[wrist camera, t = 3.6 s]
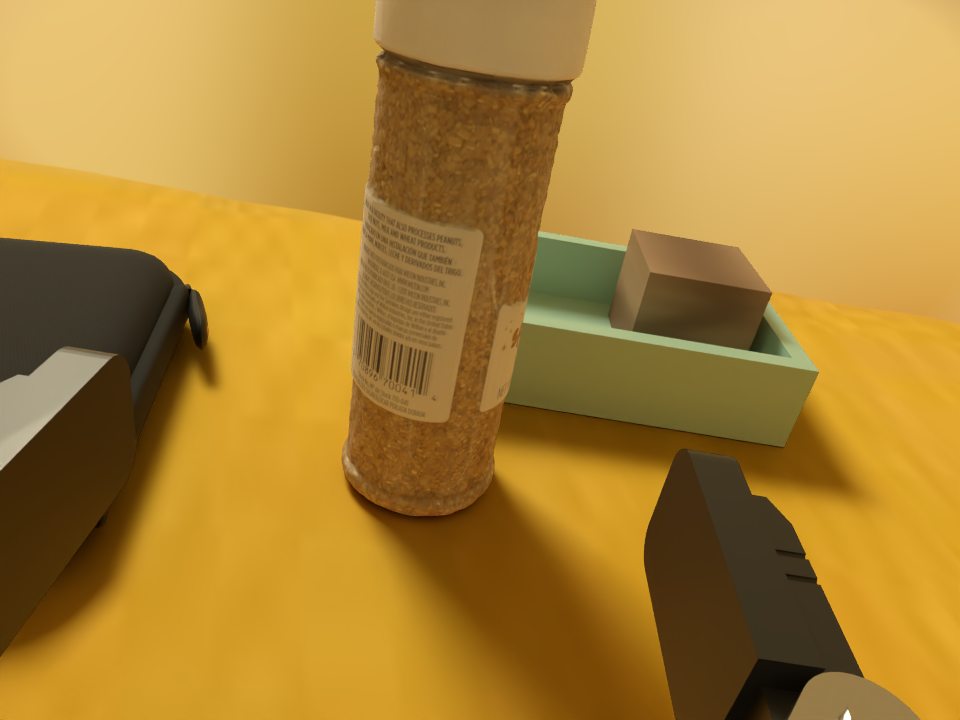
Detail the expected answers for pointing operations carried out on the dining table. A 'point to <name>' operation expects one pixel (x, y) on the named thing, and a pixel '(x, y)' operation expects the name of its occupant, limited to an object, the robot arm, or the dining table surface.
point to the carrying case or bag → (94, 311)
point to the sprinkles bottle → (452, 236)
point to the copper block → (688, 291)
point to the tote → (647, 358)
